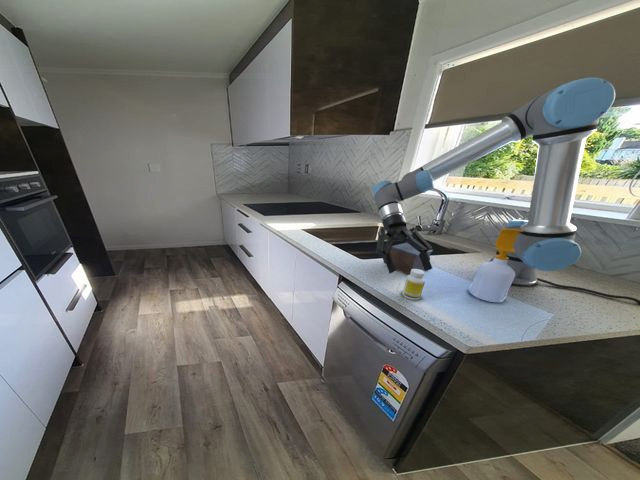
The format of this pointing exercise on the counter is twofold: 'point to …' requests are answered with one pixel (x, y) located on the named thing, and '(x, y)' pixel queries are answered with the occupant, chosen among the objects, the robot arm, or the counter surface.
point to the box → (406, 261)
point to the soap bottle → (496, 270)
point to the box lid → (408, 249)
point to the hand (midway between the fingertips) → (410, 271)
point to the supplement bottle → (414, 284)
